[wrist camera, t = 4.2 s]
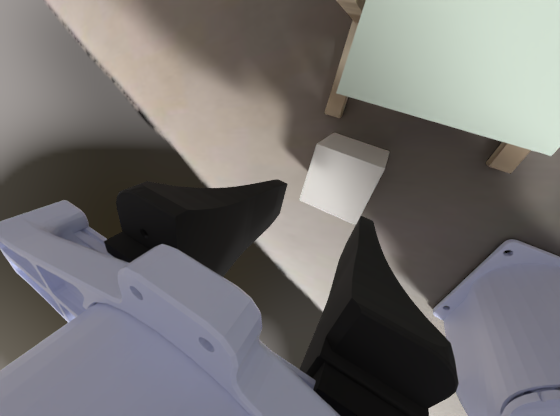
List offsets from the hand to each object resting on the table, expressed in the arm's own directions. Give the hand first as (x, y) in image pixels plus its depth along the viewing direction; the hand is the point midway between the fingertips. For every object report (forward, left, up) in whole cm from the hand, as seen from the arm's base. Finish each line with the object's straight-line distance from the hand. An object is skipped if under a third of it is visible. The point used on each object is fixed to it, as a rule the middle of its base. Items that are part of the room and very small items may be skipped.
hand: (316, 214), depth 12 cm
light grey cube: (0, 0, -9) cm, 9 cm away
